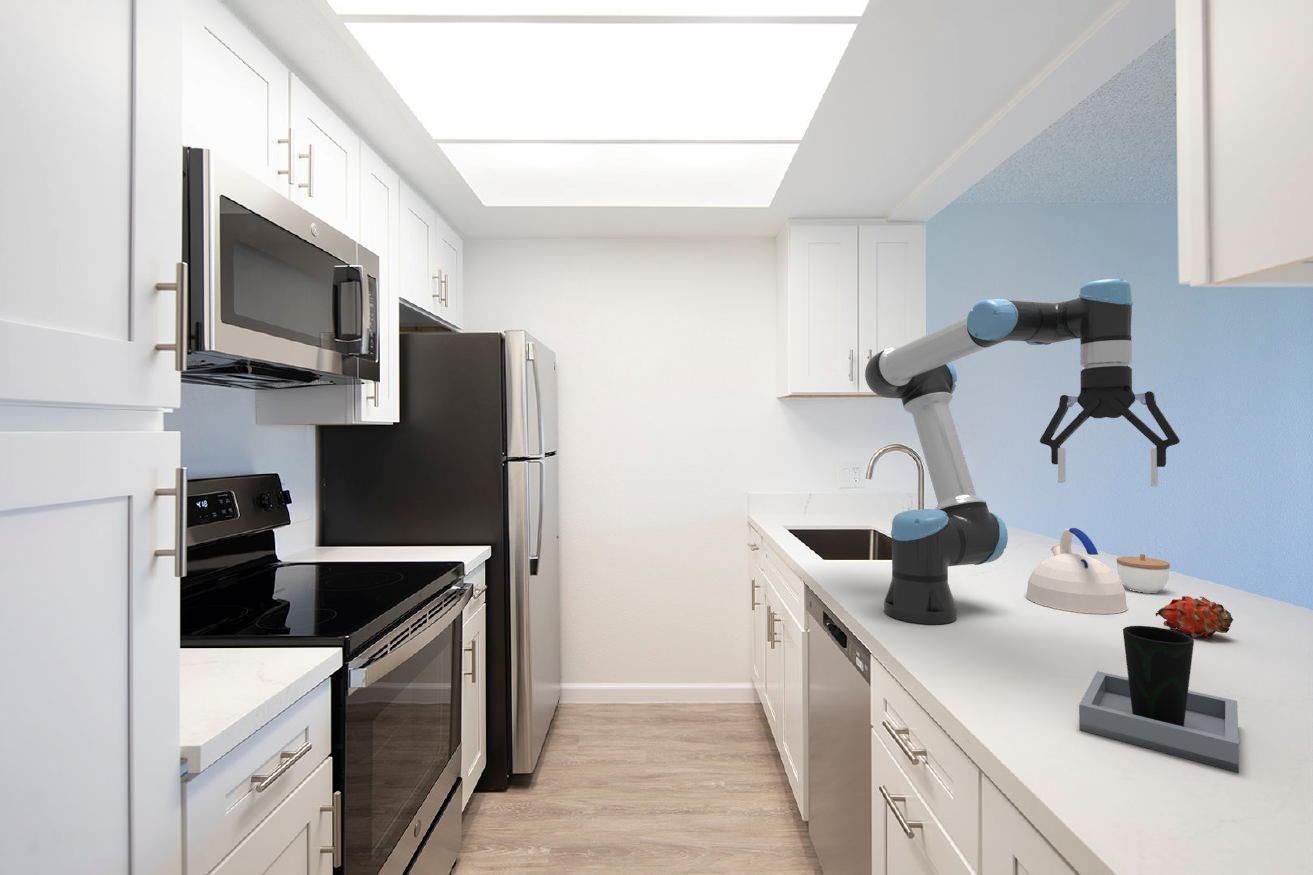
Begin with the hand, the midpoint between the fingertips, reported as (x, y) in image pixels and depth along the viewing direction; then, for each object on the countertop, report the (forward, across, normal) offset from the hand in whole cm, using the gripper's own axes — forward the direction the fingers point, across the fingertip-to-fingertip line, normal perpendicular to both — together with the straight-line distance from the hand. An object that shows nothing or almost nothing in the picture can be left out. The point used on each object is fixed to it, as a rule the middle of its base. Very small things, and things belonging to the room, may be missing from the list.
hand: (1106, 484), depth 111 cm
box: (+32, -9, +27) cm, 43 cm away
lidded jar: (+32, 0, -64) cm, 72 cm away
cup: (+31, -9, +27) cm, 42 cm away
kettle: (+32, +11, -40) cm, 52 cm away
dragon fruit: (+32, -11, -27) cm, 43 cm away
